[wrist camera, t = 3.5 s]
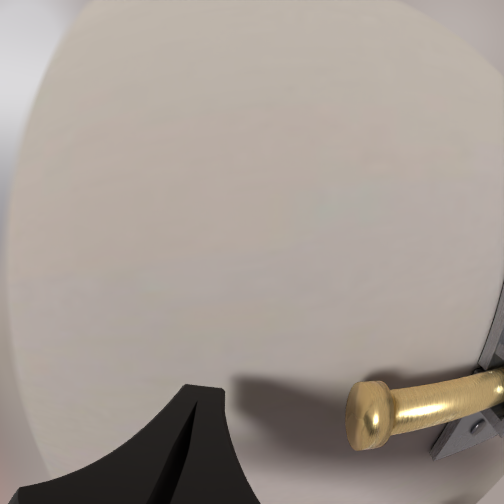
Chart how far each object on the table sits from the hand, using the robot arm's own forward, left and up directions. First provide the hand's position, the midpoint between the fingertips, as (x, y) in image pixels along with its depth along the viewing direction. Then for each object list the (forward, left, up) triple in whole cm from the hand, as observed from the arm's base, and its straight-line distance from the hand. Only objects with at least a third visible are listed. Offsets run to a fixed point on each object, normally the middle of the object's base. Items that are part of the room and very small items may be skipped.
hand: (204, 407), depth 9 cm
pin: (0, -12, -1) cm, 12 cm away
